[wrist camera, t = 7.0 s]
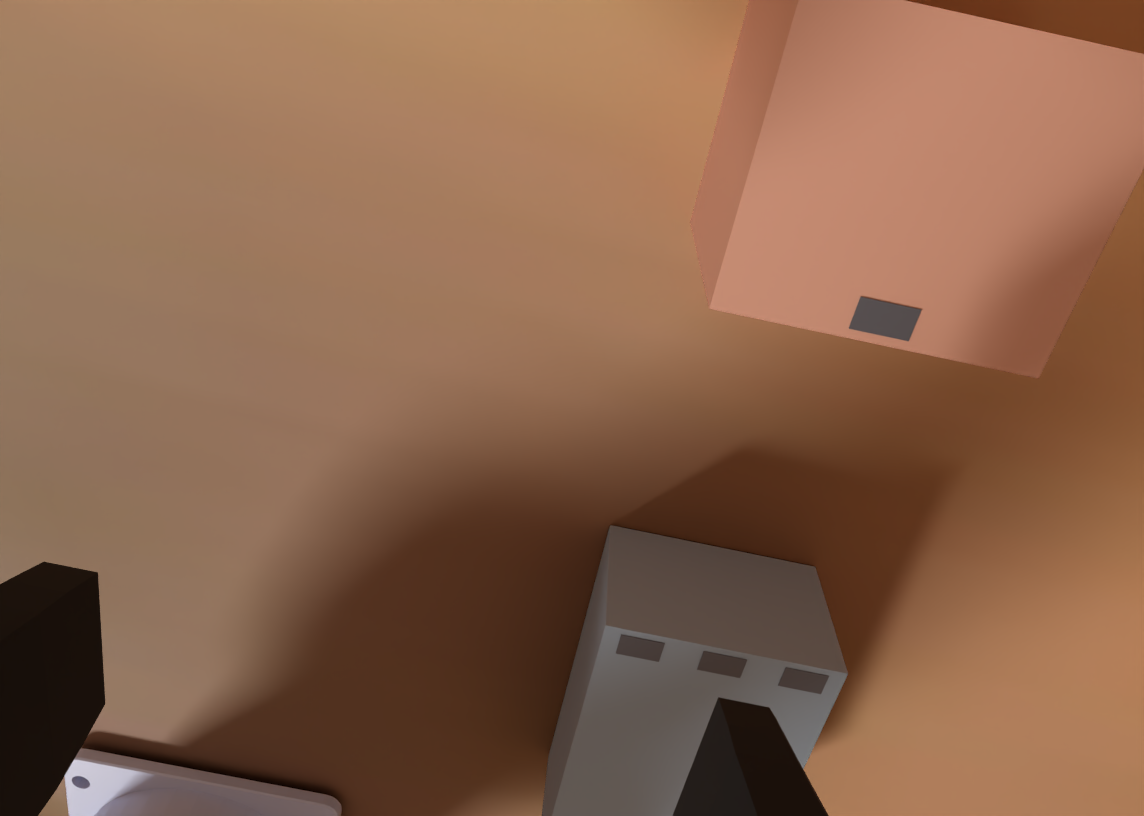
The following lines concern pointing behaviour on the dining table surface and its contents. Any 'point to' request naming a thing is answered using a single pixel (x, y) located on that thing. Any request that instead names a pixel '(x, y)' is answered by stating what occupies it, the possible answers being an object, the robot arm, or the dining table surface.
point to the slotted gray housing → (684, 668)
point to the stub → (916, 176)
